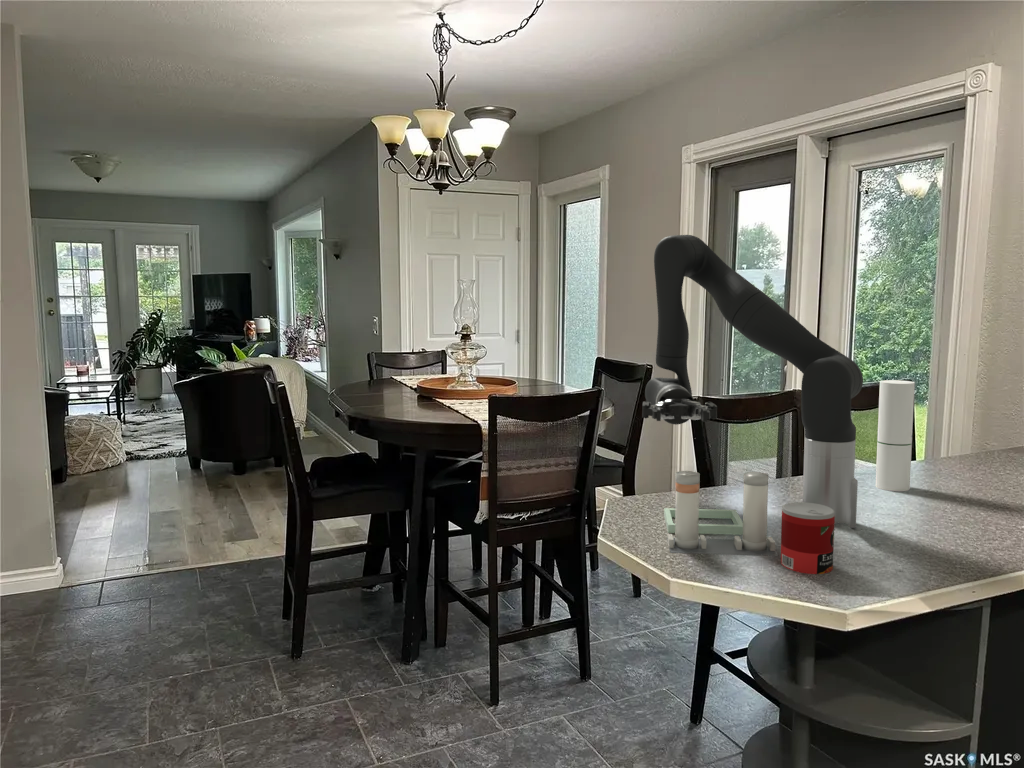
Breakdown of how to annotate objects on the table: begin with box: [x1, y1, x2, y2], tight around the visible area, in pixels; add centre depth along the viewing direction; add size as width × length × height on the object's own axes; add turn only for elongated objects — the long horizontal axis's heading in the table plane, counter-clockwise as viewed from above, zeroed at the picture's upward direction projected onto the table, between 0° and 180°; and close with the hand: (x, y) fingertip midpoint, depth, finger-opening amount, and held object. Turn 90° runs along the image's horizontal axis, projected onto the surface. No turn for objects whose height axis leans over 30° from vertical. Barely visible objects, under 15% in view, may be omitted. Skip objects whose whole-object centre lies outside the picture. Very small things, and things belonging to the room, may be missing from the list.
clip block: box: [666, 533, 779, 557], centre depth 129 cm, size 18×8×3 cm, turn 82°
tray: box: [663, 507, 743, 536], centre depth 141 cm, size 14×11×3 cm
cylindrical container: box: [875, 379, 915, 492], centre depth 171 cm, size 7×7×25 cm
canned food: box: [780, 501, 835, 575], centre depth 119 cm, size 8×8×11 cm
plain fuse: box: [741, 471, 770, 551], centre depth 127 cm, size 4×4×13 cm
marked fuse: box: [674, 470, 701, 549], centre depth 129 cm, size 4×4×13 cm
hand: (682, 416), depth 138 cm, fingers open, 8 cm apart
